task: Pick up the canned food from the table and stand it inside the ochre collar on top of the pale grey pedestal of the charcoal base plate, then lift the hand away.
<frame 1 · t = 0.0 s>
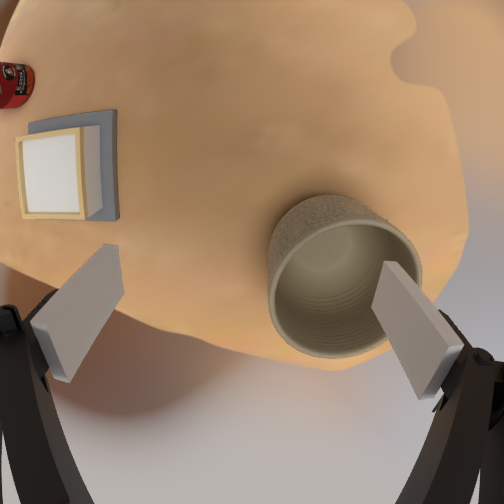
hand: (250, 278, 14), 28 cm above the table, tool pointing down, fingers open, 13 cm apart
canned food: (20, 86, 33), on the table
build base: (72, 167, 39), on the table
planter: (321, 241, 44), on the table
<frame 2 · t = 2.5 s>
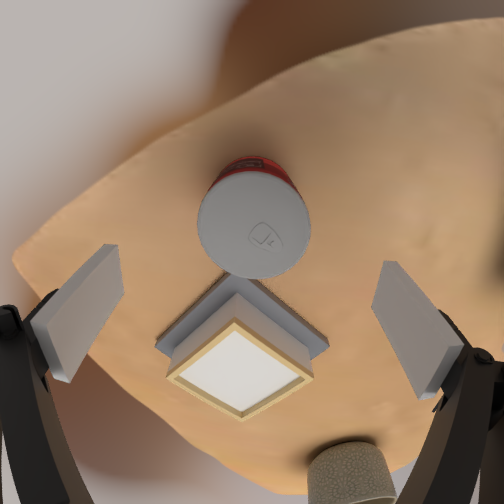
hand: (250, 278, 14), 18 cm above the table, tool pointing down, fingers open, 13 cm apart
canned food: (254, 192, 31), on the table
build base: (241, 341, 38), on the table
planter: (342, 452, 52), on the table
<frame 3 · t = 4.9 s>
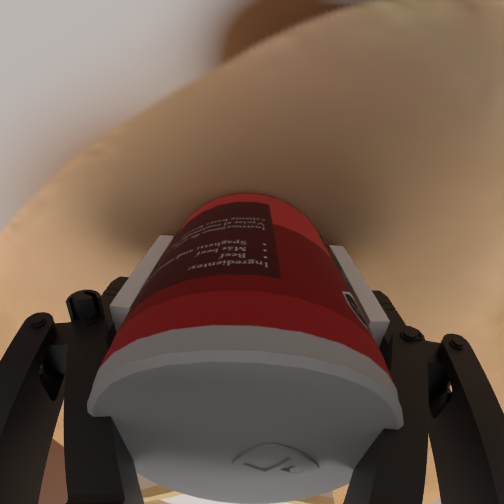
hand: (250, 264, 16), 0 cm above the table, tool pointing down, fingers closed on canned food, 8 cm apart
canned food: (250, 260, 16), on the table, touching gripper
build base: (233, 448, 24), on the table
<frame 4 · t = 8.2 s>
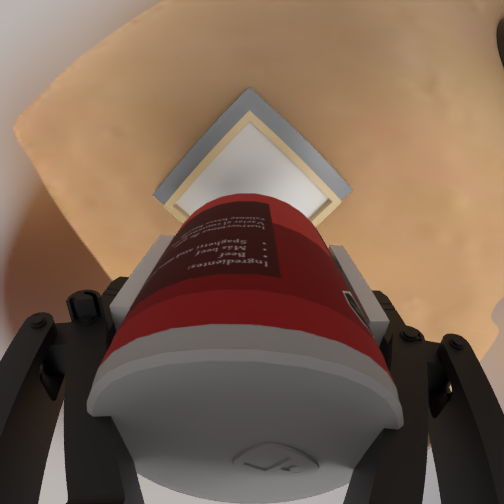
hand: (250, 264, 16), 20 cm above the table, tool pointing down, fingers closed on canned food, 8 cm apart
canned food: (250, 260, 16), point 20 cm above the table, touching gripper
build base: (252, 187, 34), on the table
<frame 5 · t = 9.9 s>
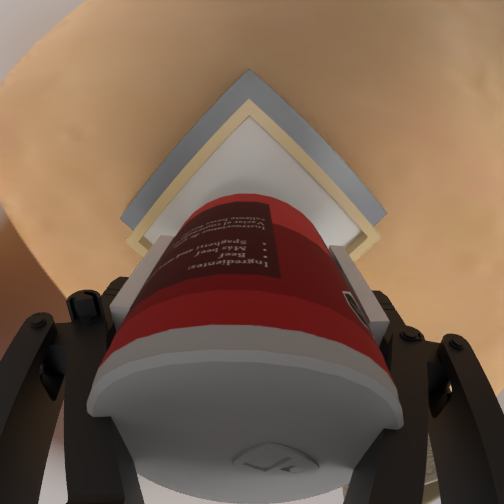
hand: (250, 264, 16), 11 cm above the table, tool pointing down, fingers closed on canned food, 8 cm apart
canned food: (250, 260, 16), point 10 cm above the table, touching gripper
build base: (253, 207, 25), on the table
planter: (383, 423, 39), on the table
when the fingers open (8 cm above the table, at t = 11.3 s): canned food drops 2 cm, resting on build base.
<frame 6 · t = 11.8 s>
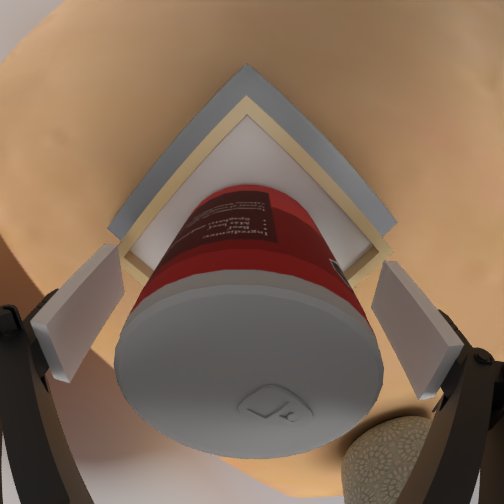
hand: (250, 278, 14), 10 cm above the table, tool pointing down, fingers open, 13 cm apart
canned food: (252, 245, 18), point 6 cm above the table, touching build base
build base: (251, 216, 23), on the table
planter: (386, 434, 37), on the table
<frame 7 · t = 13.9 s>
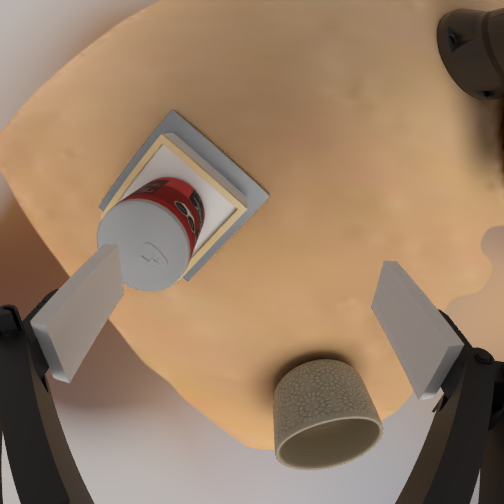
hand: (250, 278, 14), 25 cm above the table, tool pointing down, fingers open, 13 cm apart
canned food: (171, 209, 33), point 6 cm above the table, touching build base
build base: (180, 197, 38), on the table
planter: (314, 379, 52), on the table
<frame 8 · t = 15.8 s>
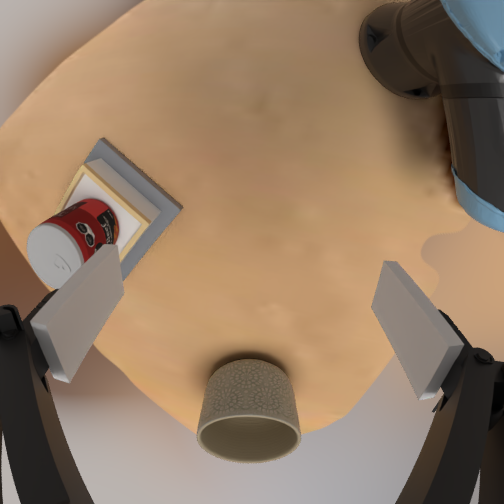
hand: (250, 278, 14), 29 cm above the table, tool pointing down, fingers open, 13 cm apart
canned food: (96, 224, 37), point 6 cm above the table, touching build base
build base: (112, 211, 43), on the table
planter: (249, 377, 56), on the table
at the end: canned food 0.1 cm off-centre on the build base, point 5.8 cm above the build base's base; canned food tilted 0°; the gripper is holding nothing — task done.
